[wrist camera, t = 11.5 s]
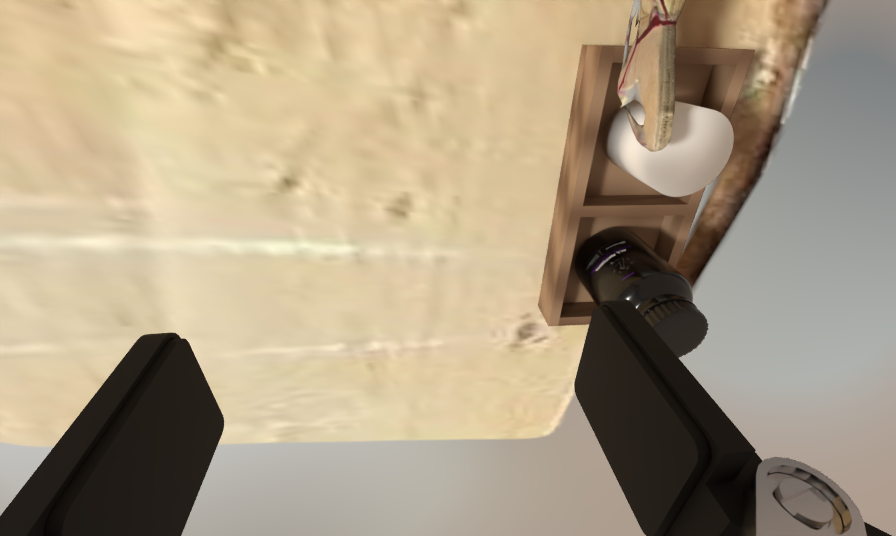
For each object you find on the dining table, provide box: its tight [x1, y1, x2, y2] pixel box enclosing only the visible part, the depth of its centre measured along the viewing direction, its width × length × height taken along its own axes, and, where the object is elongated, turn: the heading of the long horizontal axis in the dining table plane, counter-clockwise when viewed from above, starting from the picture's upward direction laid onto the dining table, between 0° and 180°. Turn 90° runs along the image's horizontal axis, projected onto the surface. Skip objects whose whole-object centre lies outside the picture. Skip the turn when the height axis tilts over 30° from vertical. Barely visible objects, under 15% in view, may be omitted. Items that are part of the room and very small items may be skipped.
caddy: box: [538, 45, 755, 326], centre depth 36 cm, size 24×12×4 cm, turn 179°
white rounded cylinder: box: [603, 100, 734, 197], centre depth 30 cm, size 6×6×7 cm
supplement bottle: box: [575, 228, 708, 358], centre depth 34 cm, size 7×7×12 cm
